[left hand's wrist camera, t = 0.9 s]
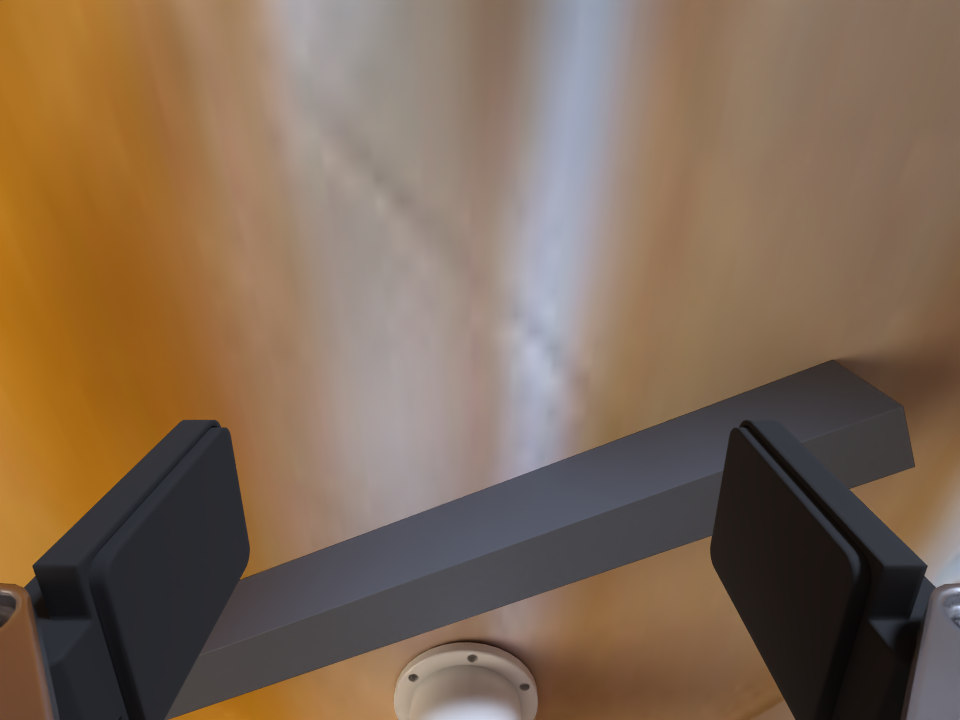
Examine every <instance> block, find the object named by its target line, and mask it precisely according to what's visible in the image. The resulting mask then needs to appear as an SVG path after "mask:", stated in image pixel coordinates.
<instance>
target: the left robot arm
mask: <svg viewBox="0 0 960 720" xmlns="http://www.w3.org/2000/svg"><path fill="white" fill-rule="evenodd" d="M249 553H250V547H249V540H248V534H247V528H246V523H245V517H244V511H243V505H242V499H241V493H240V487H239V482H238V476H237V470H236V464H235V458H234V452H233V446H232V441H231V435H230V432H229V430H228V429H227V428H221V426H220V424H219V422H217V421H216V420H183V421H181V422H180V423H179V424H178V425H177V426H176V427H175V428H174V429H173V430H171V431H170V432H169V433H168V434H167V435H166V436H165V437H164V438H163V439H162V440H161V441H160V442H159V443H158V444H157V445H156V446H155V447H154V448H153V449H152V450H151V451H150V452H149V453H148V454H147V455H146V456H145V457H144V458H143V459H142V460H141V461H140V462H139V463H138V464H137V465H136V466H134V467H133V468H132V469H131V470H130V471H129V472H128V473H127V474H126V475H125V476H124V477H123V478H122V479H121V480H120V481H119V482H118V483H117V484H116V485H115V486H114V487H113V488H112V489H111V490H110V491H109V492H108V493H107V494H106V495H105V496H104V497H103V498H102V499H101V500H100V501H99V502H97V503H96V504H95V505H94V506H93V507H92V508H91V509H90V510H89V511H88V512H87V513H86V514H85V515H84V516H83V517H82V518H81V519H80V520H79V521H78V522H77V523H76V524H75V525H74V526H73V527H72V528H71V529H70V530H69V531H68V532H67V533H66V534H65V535H64V536H63V537H62V538H60V539H59V540H58V541H57V542H56V543H55V544H54V545H53V546H52V547H51V548H50V549H49V550H48V551H47V552H46V553H45V554H44V555H43V556H42V557H41V558H40V559H39V560H38V561H37V562H36V563H35V564H34V565H33V569H34V572H35V575H36V576H35V577H34V578H33V579H32V580H31V581H30V582H29V583H28V584H27V585H26V586H25V587H24V588H23V587H20V586H18V585H16V584H4V583H0V720H165V718H166V716H167V714H168V712H169V710H170V708H171V707H172V705H173V703H174V701H175V699H176V697H177V695H178V693H179V692H180V690H181V688H182V686H183V684H184V682H185V680H186V678H187V677H188V675H189V673H190V671H191V669H192V667H193V665H194V664H195V662H196V660H197V658H198V656H199V654H200V652H201V650H202V649H203V647H204V645H205V643H206V641H207V639H208V637H209V636H210V634H211V632H212V630H213V628H214V626H215V624H216V622H217V621H218V619H219V617H220V615H221V613H222V611H223V609H224V608H225V606H226V604H227V602H228V600H229V598H230V596H231V594H232V593H233V591H234V589H235V587H236V585H237V583H238V581H239V579H240V578H241V576H242V574H243V572H244V570H245V568H246V566H247V564H248V560H249ZM710 553H711V560H712V564H713V566H714V568H715V570H716V572H717V574H718V576H719V578H720V580H721V581H722V583H723V585H724V587H725V589H726V591H727V593H728V594H729V596H730V598H731V600H732V602H733V604H734V606H735V608H736V609H737V611H738V613H739V615H740V617H741V619H742V621H743V622H744V624H745V626H746V628H747V630H748V632H749V634H750V636H751V637H752V639H753V641H754V643H755V645H756V647H757V649H758V650H759V652H760V654H761V656H762V658H763V660H764V662H765V664H766V665H767V667H768V669H769V671H770V673H771V675H772V677H773V678H774V680H775V682H776V684H777V686H778V688H779V690H780V692H781V693H782V695H783V697H784V699H785V701H786V703H787V704H788V707H789V708H790V710H791V712H792V714H793V716H794V718H795V720H960V583H956V584H944V585H942V586H940V587H937V588H936V587H935V586H934V585H933V584H932V583H931V582H930V581H929V580H928V579H927V578H926V577H925V576H924V575H925V572H926V569H927V565H926V564H925V563H924V562H923V561H922V560H921V559H920V558H919V557H918V556H917V555H916V554H915V553H914V552H913V551H912V550H911V549H910V548H909V547H908V546H907V545H906V544H905V543H904V542H903V541H902V540H901V539H900V538H898V537H897V536H896V535H895V534H894V533H893V532H892V531H891V530H890V529H889V528H888V527H887V526H886V525H885V524H884V523H883V522H882V521H881V520H880V519H879V518H878V517H877V516H876V515H875V514H874V513H873V512H872V511H871V510H870V509H869V508H868V507H867V506H866V505H865V504H864V503H863V502H861V501H860V500H859V499H858V498H857V497H856V496H855V495H854V494H853V493H852V492H851V491H850V490H849V489H848V488H847V487H846V486H845V485H844V484H843V483H842V482H841V481H840V480H839V479H838V478H837V477H836V476H835V475H834V474H833V473H832V472H831V471H830V470H829V469H828V468H827V467H826V466H824V465H823V464H822V463H821V462H820V461H819V460H818V459H817V458H816V457H815V456H814V455H813V454H812V453H811V452H810V451H809V450H808V449H807V448H806V447H805V446H804V445H803V444H802V443H801V442H800V441H799V440H798V439H797V438H796V437H795V436H794V435H793V434H792V433H791V432H790V431H789V430H787V429H786V428H785V427H784V426H783V425H782V424H781V423H780V422H779V421H777V420H744V421H743V422H741V424H740V426H739V428H733V429H732V430H731V432H730V435H729V441H728V446H727V452H726V458H725V464H724V470H723V476H722V482H721V487H720V493H719V499H718V505H717V511H716V517H715V523H714V528H713V534H712V540H711V547H710ZM394 708H395V714H396V716H397V718H398V720H534V719H535V716H536V713H537V709H538V695H537V687H536V684H535V681H534V678H533V676H532V674H531V673H530V671H529V670H528V668H527V667H526V666H525V665H524V664H523V663H522V662H521V661H520V660H519V659H517V658H516V657H514V656H513V655H511V654H510V653H508V652H506V651H503V650H501V649H499V648H496V647H493V646H489V645H486V644H480V643H471V642H464V643H451V644H446V645H441V646H438V647H435V648H432V649H429V650H427V651H426V652H424V653H422V654H420V655H418V656H417V657H416V658H414V659H413V660H412V661H411V662H409V663H408V664H407V666H406V667H405V668H404V669H403V670H402V672H401V674H400V676H399V678H398V680H397V683H396V688H395V693H394Z"/></svg>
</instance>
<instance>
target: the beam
mask: <svg viewBox="0 0 960 720" xmlns="http://www.w3.org/2000/svg"><path fill="white" fill-rule="evenodd" d="M744 420H777V421H779V422H780V423H781V424H782V425H783V426H784V427H785V428H786V429H787V430H789V431H790V432H791V433H792V434H793V435H794V436H795V437H796V438H797V439H798V440H799V441H800V442H801V443H802V444H803V445H804V446H805V447H806V448H807V449H808V450H809V451H810V452H811V453H812V454H813V455H814V456H815V457H816V458H817V459H818V460H819V461H820V462H821V463H822V464H823V465H824V466H826V467H827V468H828V469H829V470H830V471H831V472H832V473H833V474H834V475H835V476H836V477H837V478H838V479H839V480H840V481H841V482H842V483H843V484H844V485H845V486H846V487H847V488H848V489H851V488H854V487H856V486H859V485H862V484H865V483H868V482H871V481H874V480H877V479H880V478H883V477H886V476H889V475H892V474H895V473H898V472H901V471H904V470H907V469H910V468H913V467H915V464H914V458H913V453H912V448H911V443H910V438H909V433H908V428H907V423H906V418H905V413H904V407H903V406H902V405H901V404H899V403H898V402H896V401H895V400H893V399H892V398H890V397H889V396H887V395H885V394H884V393H882V392H881V391H879V390H878V389H876V388H875V387H873V386H872V385H870V384H869V383H867V382H866V381H864V380H863V379H861V378H860V377H858V376H857V375H855V374H854V373H852V372H851V371H849V370H847V369H846V368H844V367H843V366H841V365H840V364H838V363H837V362H835V361H834V360H831V361H828V362H826V363H823V364H820V365H818V366H815V367H812V368H809V369H807V370H804V371H801V372H799V373H796V374H793V375H791V376H788V377H785V378H783V379H780V380H777V381H774V382H772V383H769V384H766V385H764V386H761V387H758V388H756V389H753V390H750V391H748V392H745V393H742V394H739V395H737V396H734V397H731V398H729V399H726V400H723V401H721V402H718V403H715V404H713V405H710V406H707V407H704V408H702V409H699V410H696V411H694V412H691V413H688V414H686V415H683V416H680V417H678V418H675V419H672V420H669V421H667V422H664V423H661V424H659V425H656V426H653V427H651V428H648V429H645V430H643V431H640V432H637V433H634V434H632V435H629V436H626V437H624V438H621V439H618V440H616V441H613V442H610V443H608V444H605V445H602V446H599V447H597V448H594V449H591V450H589V451H586V452H583V453H581V454H578V455H575V456H573V457H570V458H567V459H564V460H562V461H559V462H556V463H554V464H551V465H548V466H546V467H543V468H540V469H538V470H535V471H532V472H529V473H527V474H524V475H521V476H519V477H516V478H513V479H511V480H508V481H505V482H503V483H500V484H497V485H495V486H492V487H489V488H486V489H484V490H481V491H478V492H476V493H473V494H470V495H468V496H465V497H462V498H460V499H457V500H454V501H451V502H449V503H446V504H443V505H441V506H438V507H435V508H433V509H430V510H427V511H425V512H422V513H419V514H416V515H414V516H411V517H408V518H406V519H403V520H400V521H398V522H395V523H392V524H390V525H387V526H384V527H381V528H379V529H376V530H373V531H371V532H368V533H365V534H363V535H360V536H357V537H355V538H352V539H349V540H346V541H344V542H341V543H338V544H336V545H333V546H330V547H328V548H325V549H322V550H320V551H317V552H314V553H311V554H309V555H306V556H303V557H301V558H298V559H295V560H293V561H290V562H287V563H285V564H282V565H279V566H276V567H274V568H271V569H268V570H266V571H263V572H260V573H258V574H255V575H252V576H250V577H247V578H244V579H241V580H239V581H238V583H237V585H236V587H235V589H234V591H233V593H232V594H231V596H230V598H229V600H228V602H227V604H226V606H225V608H224V609H223V611H222V613H221V615H220V617H219V619H218V621H217V622H216V624H215V626H214V628H213V630H212V632H211V634H210V636H209V637H208V639H207V641H206V643H205V645H204V647H203V649H202V650H201V652H200V654H199V656H198V658H197V660H196V662H195V664H194V665H193V667H192V669H191V671H190V673H189V675H188V677H187V678H186V680H185V682H184V684H183V686H182V688H181V690H180V692H179V693H178V695H177V697H176V699H175V701H174V703H173V705H172V707H171V708H170V710H169V712H168V714H167V716H166V718H165V720H168V719H171V718H174V717H177V716H180V715H183V714H186V713H189V712H192V711H195V710H198V709H201V708H204V707H207V706H210V705H213V704H215V703H218V702H221V701H224V700H227V699H230V698H233V697H236V696H239V695H242V694H245V693H248V692H251V691H254V690H257V689H260V688H263V687H266V686H269V685H272V684H275V683H277V682H280V681H283V680H286V679H289V678H292V677H295V676H298V675H301V674H304V673H307V672H310V671H313V670H316V669H319V668H322V667H325V666H328V665H331V664H334V663H337V662H340V661H342V660H345V659H348V658H351V657H354V656H357V655H360V654H363V653H366V652H369V651H372V650H375V649H378V648H381V647H384V646H387V645H390V644H393V643H396V642H399V641H402V640H405V639H407V638H410V637H413V636H416V635H419V634H422V633H425V632H428V631H431V630H434V629H437V628H440V627H443V626H446V625H449V624H452V623H455V622H458V621H461V620H464V619H467V618H470V617H472V616H475V615H478V614H481V613H484V612H487V611H490V610H493V609H496V608H499V607H502V606H505V605H508V604H511V603H514V602H517V601H520V600H523V599H526V598H529V597H532V596H534V595H537V594H540V593H543V592H546V591H549V590H552V589H555V588H558V587H561V586H564V585H567V584H570V583H573V582H576V581H579V580H582V579H585V578H588V577H591V576H594V575H597V574H599V573H602V572H605V571H608V570H611V569H614V568H617V567H620V566H623V565H626V564H629V563H632V562H635V561H638V560H641V559H644V558H647V557H650V556H653V555H656V554H659V553H662V552H664V551H667V550H670V549H673V548H676V547H679V546H682V545H685V544H688V543H691V542H694V541H697V540H700V539H703V538H706V537H709V536H712V534H713V528H714V523H715V517H716V511H717V505H718V499H719V493H720V487H721V482H722V476H723V470H724V464H725V458H726V452H727V446H728V441H729V435H730V432H731V430H732V429H733V428H739V426H740V424H741V422H743V421H744Z"/></svg>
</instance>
